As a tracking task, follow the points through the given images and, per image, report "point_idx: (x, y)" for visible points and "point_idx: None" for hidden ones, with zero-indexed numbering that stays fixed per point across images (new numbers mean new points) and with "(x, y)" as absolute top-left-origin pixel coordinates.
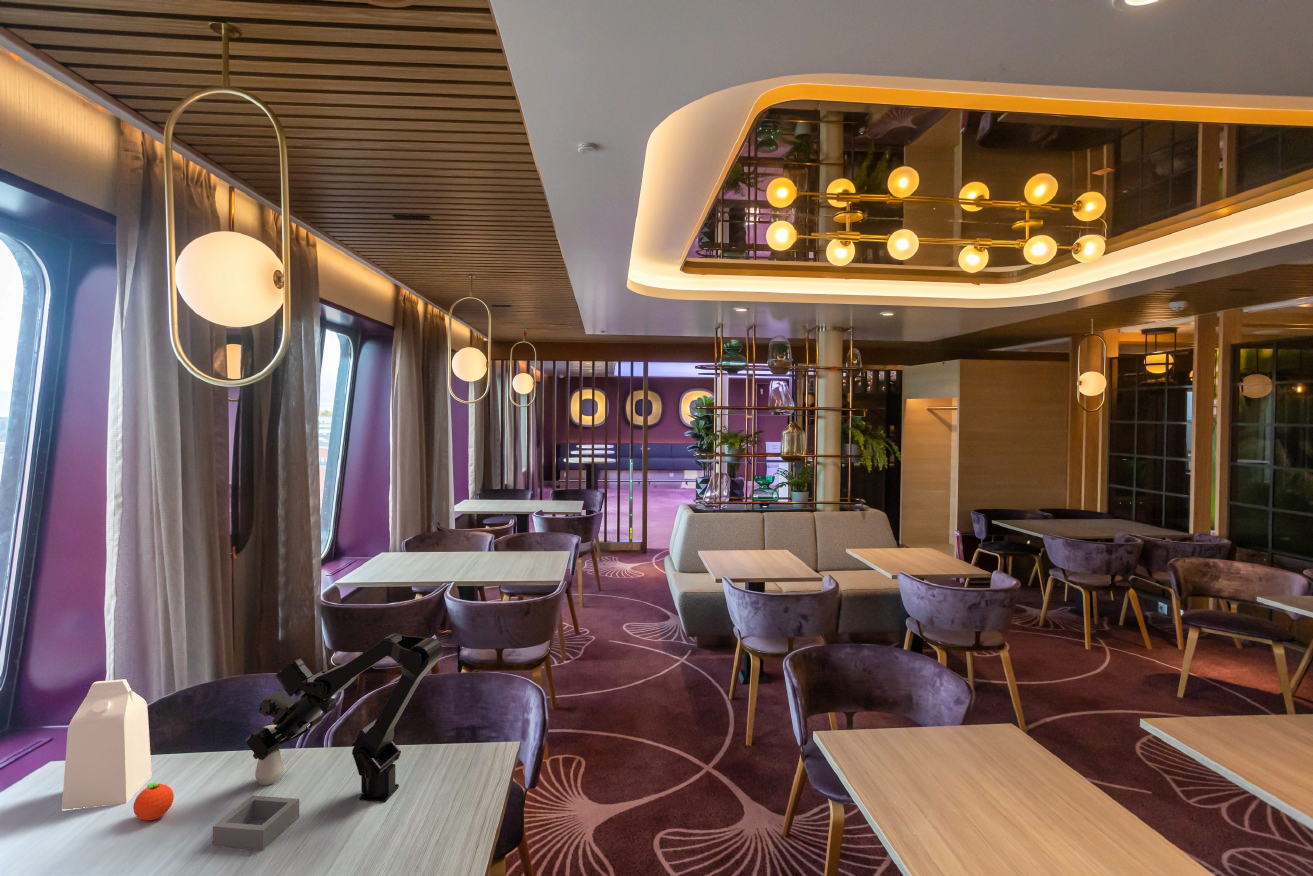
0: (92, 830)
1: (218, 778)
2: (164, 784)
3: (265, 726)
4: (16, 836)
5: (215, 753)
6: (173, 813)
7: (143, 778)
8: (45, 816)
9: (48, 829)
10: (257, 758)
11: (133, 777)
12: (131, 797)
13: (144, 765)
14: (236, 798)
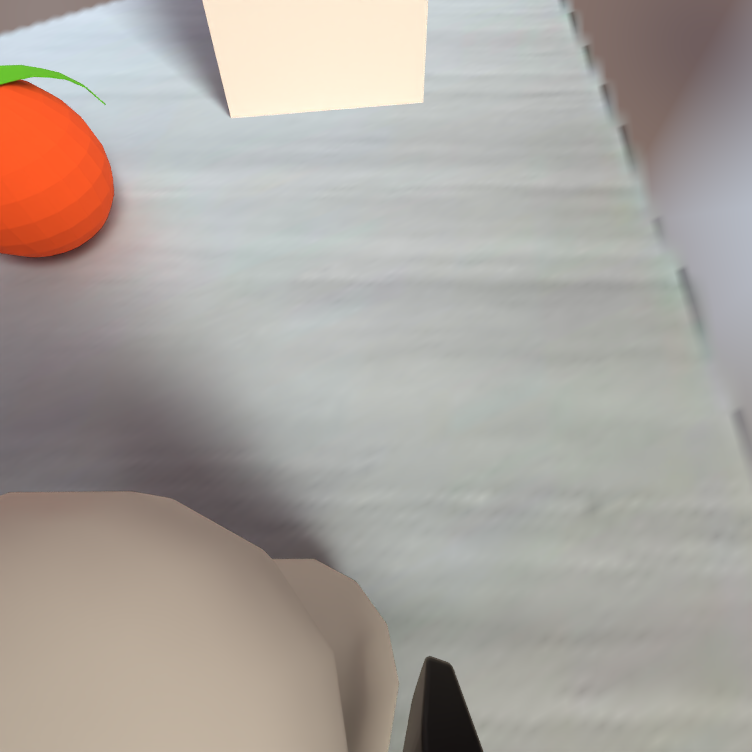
0: None
1: (381, 322)
2: (6, 122)
3: (97, 611)
4: (123, 3)
5: (630, 205)
6: (71, 286)
7: (361, 79)
8: None
9: (131, 35)
10: None
11: (274, 32)
12: (268, 113)
13: (372, 21)
14: None
